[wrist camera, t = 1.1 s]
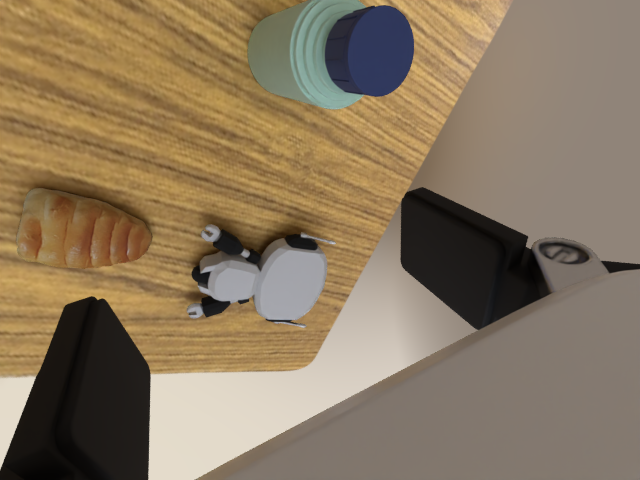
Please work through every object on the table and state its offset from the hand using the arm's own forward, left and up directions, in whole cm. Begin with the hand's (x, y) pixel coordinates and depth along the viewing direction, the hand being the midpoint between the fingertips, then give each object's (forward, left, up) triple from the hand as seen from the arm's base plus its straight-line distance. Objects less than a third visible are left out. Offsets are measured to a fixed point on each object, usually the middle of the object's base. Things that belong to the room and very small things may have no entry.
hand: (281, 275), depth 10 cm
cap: (-2, +10, -8) cm, 13 cm away
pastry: (+2, -13, -24) cm, 27 cm away
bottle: (-2, +10, -24) cm, 26 cm away
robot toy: (+16, -3, -24) cm, 29 cm away
